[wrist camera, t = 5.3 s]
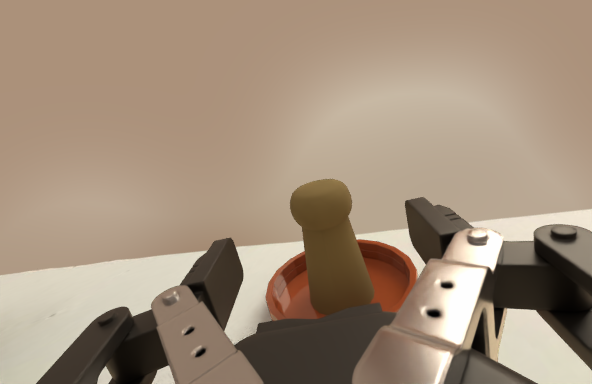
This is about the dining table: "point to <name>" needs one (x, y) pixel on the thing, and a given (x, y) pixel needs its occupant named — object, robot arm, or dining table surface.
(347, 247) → the brown game pawn
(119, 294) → the dining table surface
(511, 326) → the dining table surface
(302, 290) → the dish
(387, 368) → the robot arm
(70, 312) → the dining table surface
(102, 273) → the dining table surface
